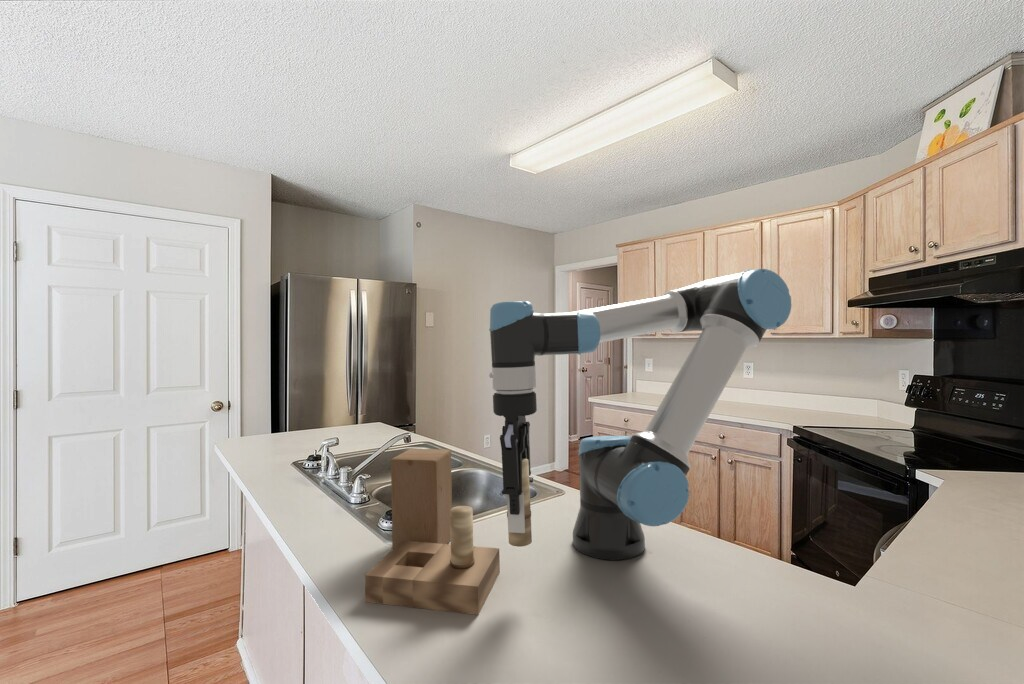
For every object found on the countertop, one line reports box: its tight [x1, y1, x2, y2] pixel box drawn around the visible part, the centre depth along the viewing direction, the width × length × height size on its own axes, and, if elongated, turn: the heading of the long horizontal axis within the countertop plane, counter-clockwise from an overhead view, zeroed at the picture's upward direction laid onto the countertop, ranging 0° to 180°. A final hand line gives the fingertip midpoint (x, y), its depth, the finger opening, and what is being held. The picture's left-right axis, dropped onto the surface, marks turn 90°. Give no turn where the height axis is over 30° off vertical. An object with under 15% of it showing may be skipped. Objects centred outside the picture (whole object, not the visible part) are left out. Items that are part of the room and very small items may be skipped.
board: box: [364, 505, 501, 616], centre depth 82 cm, size 20×14×14 cm
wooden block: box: [390, 448, 453, 551], centre depth 99 cm, size 10×10×20 cm
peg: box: [506, 458, 533, 548], centre depth 79 cm, size 4×4×14 cm
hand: (519, 525), depth 79 cm, fingers closed on peg, 4 cm apart
